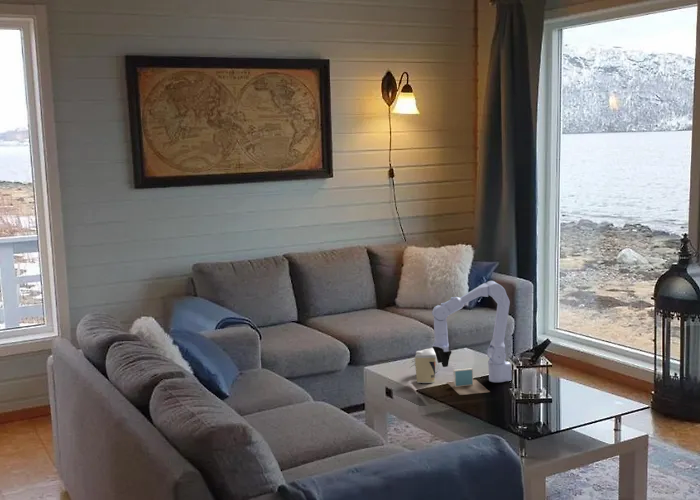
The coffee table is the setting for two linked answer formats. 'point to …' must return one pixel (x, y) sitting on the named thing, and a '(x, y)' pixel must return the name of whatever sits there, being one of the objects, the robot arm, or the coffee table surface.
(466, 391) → the board
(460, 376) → the tile
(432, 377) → the coffee cup
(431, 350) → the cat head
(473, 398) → the coffee table surface
